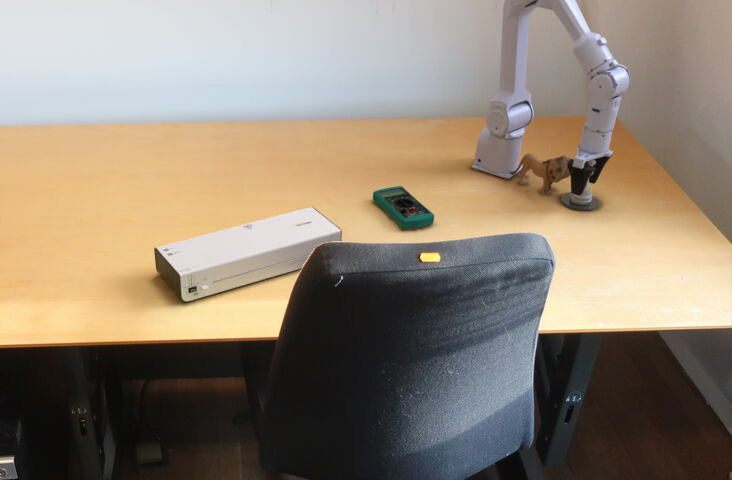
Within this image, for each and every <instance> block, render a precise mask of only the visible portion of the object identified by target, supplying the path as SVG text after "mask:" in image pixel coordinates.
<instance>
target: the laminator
mask: <svg viewBox="0 0 732 480" xmlns="http://www.w3.org/2000/svg"><path fill="white" fill-rule="evenodd" d="M342 237H343V230H342V228H340V227H339V226H337V224H335V223H334V222H333V221H331V220H330V219H329V218H328V217H326V216H325V215H324V214H323V213H321V212H320V211H319V210H317V209H316V208H315V207H314V206H308V207H305V208H302V209H297V210H294V211H290V212H287V213H286V212H285V213H283V214H279V215H274V216H270V217H266V218H263V219H259V220H255V221H252V222H247V223H244V224H240V225H236V226H233V227H228V228H225V229H220V230H217V231H213V232H209V233H206V234H202V235H197V236H194V237H191V238H186V239H182V240H179V241H175V242H171V243H168V244H163V245H159V246H155V247H154V248H153V250H154V251H153V252H154V253H153V254H154V263H155V270H156V272H157V274H159V275H160V276H161V277H162V278H163V280H164V281H165V282H166V283H167V284H168V285H169V286H170V288H171V289H172V290H173V292H174V293H176V295H177V296H178V297H179V298H180V300H181V301H182V302H183V303H191V302H194V301H198V300H201V299H206V298H209V297H211V296H216V295H219V294H222V293H225V292H229V291H232V290H236V289H239V288H241V287H246V286H248V285H253V284H256V283H260V282H263V281H266V280H267V281H268V280H270V279H273V278H276V277H280V276H283V275H287V274H291V273H294V272H297V271H301V270H302V269H301V268H302V266H303V264H304V263H305V261H306V260H307V258H308V257H309V255H310V254H311V252H312V251H313V250H314V248H316V247H317V246H318V245H320V244H322V243H325V242H332V241H341V242H342Z"/></svg>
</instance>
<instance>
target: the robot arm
mask: <svg viewBox="0 0 732 480" xmlns="http://www.w3.org/2000/svg"><path fill="white" fill-rule="evenodd" d="M536 8H540V9H544V10H549V11H552V12H553V13H554V14H555V16H556V17H557V19H558V21H559V22H560V23H561V25H562V26H563V27H564V29H565V30H566V32H567V33H568V34H569V36H570V38H571V39H572V41H573V42H574V44H573V49H572V53H573V55H574V56H575V58H576V60H577V62H578V63H579V65H580V67H581V69H582V70H583V72H584V73H585V76H586V77H587V79H588V80H589V81H588V82H587V92H588V95H589V101H588V107H587V112H586V116H585V121H584V124H583V129H582V133H581V137H580V140H579V144H578V145H577V151H576V155H575V157H574V158H571V160H569V161H568V164H567V167H568V169H569V172H570V176H569V177H570V193H572V194H575V195H579V196H581V195H582V193H583V191H584V189H585V187H586V184H587V182H588V180H589V184H593V185H594V184H596V182H597V181H598V180H599V177H600V175H601V174H602V171H603V170H604V167H605V166H606V165H607V163H608V161H610V159H611V158H612V157H613V155H614V150H611V149H610V146H611V141H612V135H613V132H614V128H615V124H616V120H617V117H618V112H619V108H620V104H621V101H622V97H623V95H622V94H624V93H625V92H627V91H628V90H629V88H630V87H631V83H632V77H631V73H630V70H629V68H628V67H626V65H624V64H621V63H618V61H617V59H615V57H614V56H613V55H612V52H611V51H610V49H609V47H608V45H607V43H608V41H607V39H606V38H605V37H604V36H603V37H602V36H601V34H600V33H596V32H592V31H591V28H590V27H589V26H588V23H587V21H586V19H585V17H584V15H583V13H582V11H581V9H580V7H579V5H578V2H577V1H576V0H504V2H503V7H502V26H501V43H500V44H501V46H500V67H499V89H498V91H497V92H496V94H495V95H494V97H493V98H492V99H491V101H490V106H489V107H490V108H489V111H488V113H487V115H486V117H485V119H486V120H485V122H486V123H485V124H486V126H485V127H484V128H483V129H482V130H481V132H480V133H479V135H478V139H477V142H476V147H475V153H474V154H475V155H474V160H473V165H472V166H471V168H472V169H474V170H477V171H480V172H483V173H487V174H491V175H494V176H497V177H500V178H502V179H503V178H504V179H507V180H509V179H511V178H512V177H513V176H515V175H516V174H518V173H520V171H521V169H522V167H523V164H522V165H521V167H520V169H519V170H518V171H517V172H516V173H515V174H514V175H513V174H509V173H511V172H514V171H515V170H516V169H517V168H518V166H519V164H520V163H519V160H520V155H521V150H522V143H523V139H524V134H525V132H526V129H527V127H528V126H529V125H531V124H532V123H533V120H534V116H535V111H534V106H533V105H532V94H531V93H530V92H529V91H528V90H527V89H526V85H527V84H526V83H527V68H528V67H527V65H528V52H529V51H528V49H529V34H530V21H531V20H530V19H531V17H530V16H531V13H532V12H533V11H534V10H535V9H536ZM590 160H595V161H596V164H594V165H593V167H592V166H589V164H588V161H590ZM592 173H593V175H591V174H592Z"/></svg>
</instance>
